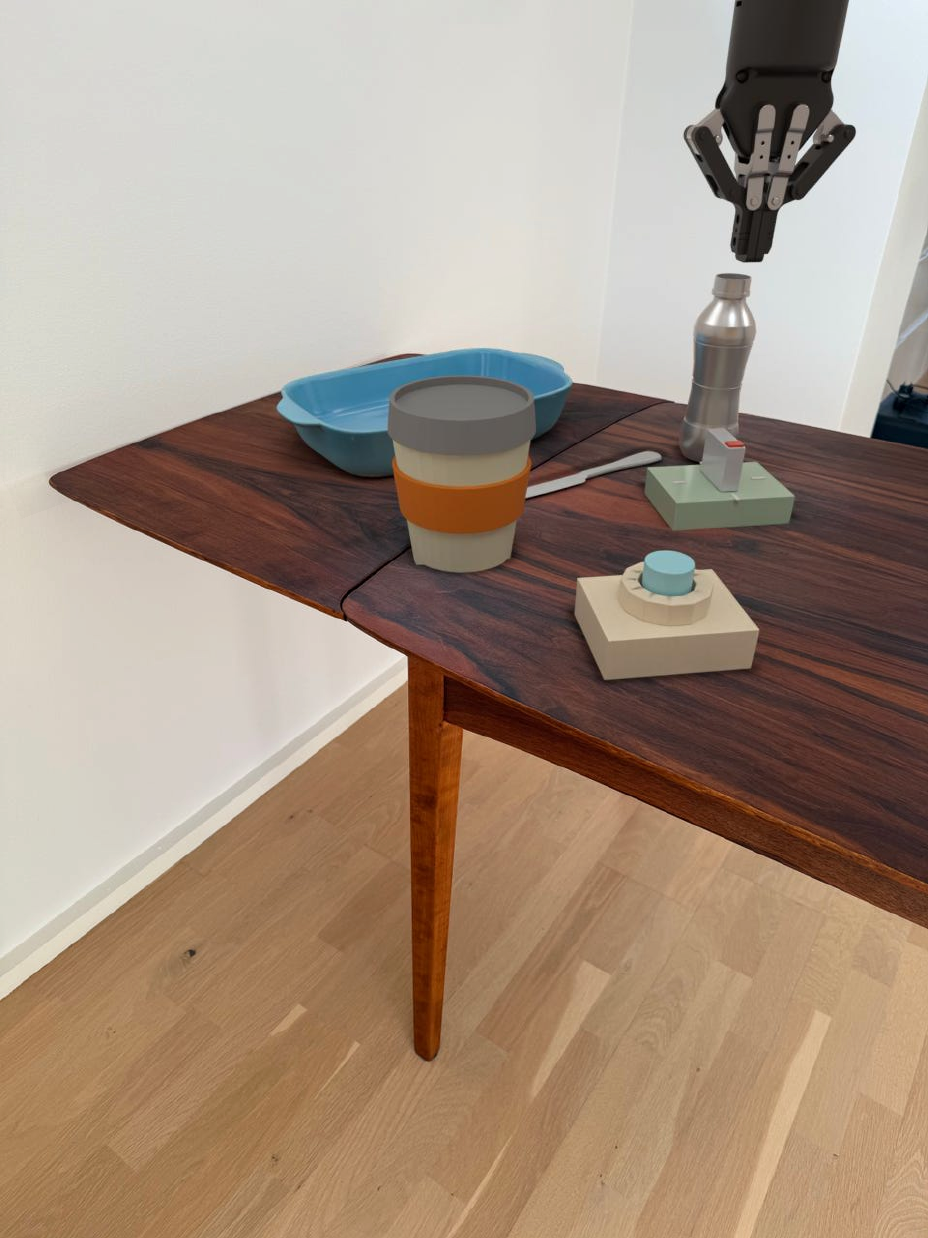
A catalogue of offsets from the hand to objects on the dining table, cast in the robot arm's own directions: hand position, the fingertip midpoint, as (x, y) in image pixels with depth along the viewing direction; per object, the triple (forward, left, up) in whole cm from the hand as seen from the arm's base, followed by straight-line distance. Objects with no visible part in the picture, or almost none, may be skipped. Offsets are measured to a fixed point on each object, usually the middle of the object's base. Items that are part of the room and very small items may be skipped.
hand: (748, 260), depth 67 cm
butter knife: (+8, -16, -25) cm, 31 cm away
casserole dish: (+23, -31, -25) cm, 46 cm away
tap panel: (-4, -7, -25) cm, 26 cm away
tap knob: (-4, -7, -22) cm, 23 cm away
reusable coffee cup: (+23, 0, -25) cm, 34 cm away
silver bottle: (-8, -20, -25) cm, 33 cm away
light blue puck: (+10, +17, -19) cm, 28 cm away
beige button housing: (+10, +17, -25) cm, 32 cm away
